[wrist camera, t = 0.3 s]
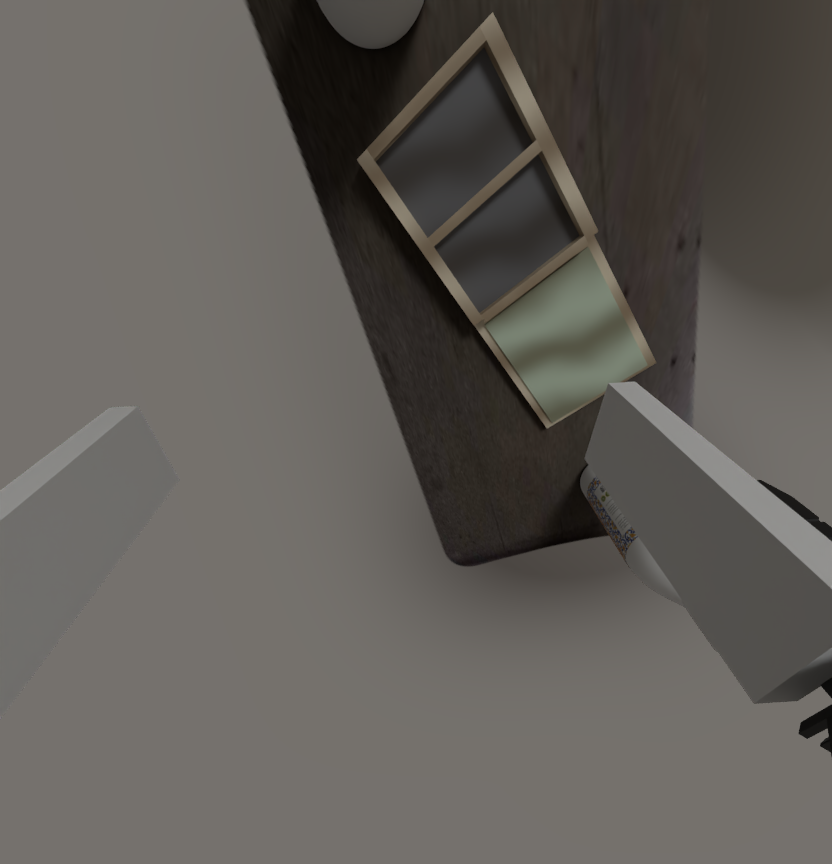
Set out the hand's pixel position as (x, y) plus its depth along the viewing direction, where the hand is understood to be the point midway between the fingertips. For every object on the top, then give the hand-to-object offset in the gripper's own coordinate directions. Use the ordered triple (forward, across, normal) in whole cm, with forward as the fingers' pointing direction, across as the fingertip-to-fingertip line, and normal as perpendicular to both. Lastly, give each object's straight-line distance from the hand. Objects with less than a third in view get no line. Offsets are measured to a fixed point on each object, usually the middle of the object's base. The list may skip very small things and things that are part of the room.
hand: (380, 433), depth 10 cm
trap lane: (+25, +12, -1) cm, 28 cm away
